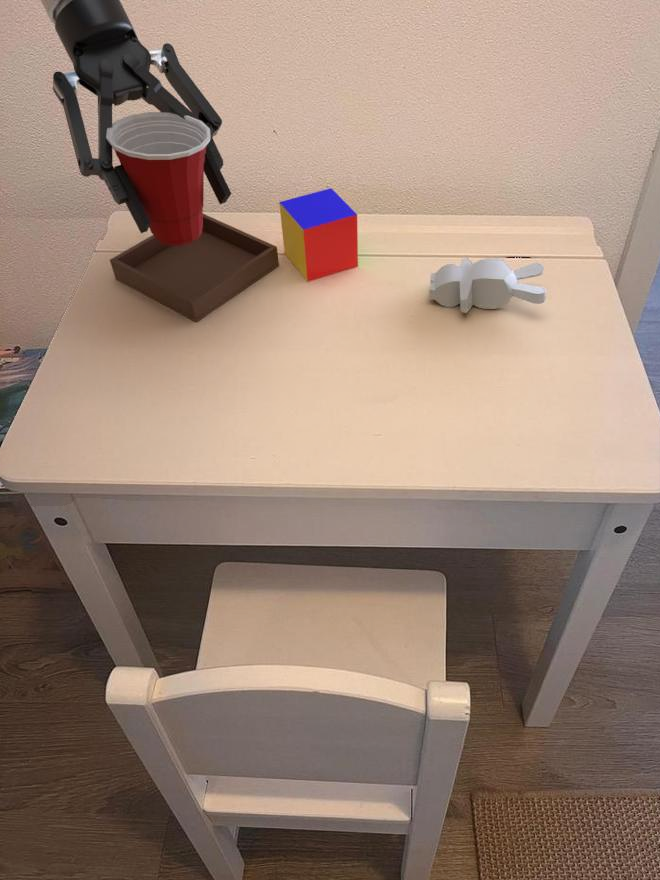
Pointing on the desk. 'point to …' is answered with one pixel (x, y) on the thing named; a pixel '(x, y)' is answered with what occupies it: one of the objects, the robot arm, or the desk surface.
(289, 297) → the desk surface
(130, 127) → the plastic cup
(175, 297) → the tray
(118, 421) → the desk surface
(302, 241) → the cube
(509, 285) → the bunny figurine
